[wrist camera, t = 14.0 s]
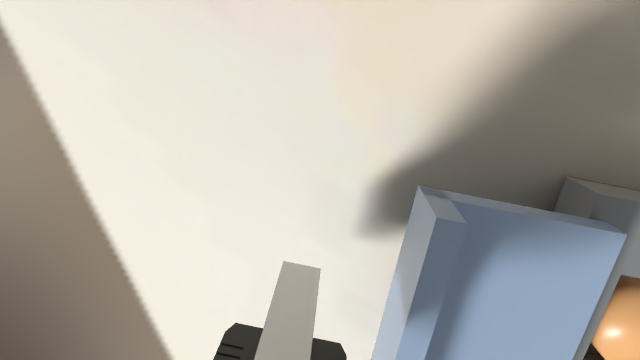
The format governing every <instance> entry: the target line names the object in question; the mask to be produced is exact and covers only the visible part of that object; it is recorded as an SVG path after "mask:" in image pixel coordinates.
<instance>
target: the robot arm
mask: <svg viewBox="0 0 640 360" xmlns="http://www.w3.org/2000/svg"><path fill="white" fill-rule="evenodd" d="M320 270H321V269H319V268H314V267H310V266H305V265H300V264H295V263H290V262H286V261H283V265H282V268H281V271H280V275H279V278H278V281H277V285H276V288H275V291H274V295H273V298H272V301H271V305H270V308H269V311H268V315H267V318H266V321H265V325H264V328H258V327H253V326H248V325H243V324H239V323H235V324H234V325H233V326H232V327H230V328H229V329H228V330H227V331H225V334H224V336H223V338H222V341H221V343H220V345H219V348H218V350H217V352H216V354H215V357H214V359H213V360H346V354H345V352H344V350H343V348H342V346H341V344H340V343H336V342H331V341H326V340H321V339H316V338H313V331H314V322H315V313H316V305H317V296H318V287H319V278H320Z"/></svg>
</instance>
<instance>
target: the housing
mask: <svg viewBox="0 0 640 360" xmlns="http://www.w3.org/2000/svg"><path fill="white" fill-rule="evenodd" d="M553 212H558V213H563V214H568V215H573V216H578V217H583V218H588V219H593V220H598V221H603V222H608V223H610V224H611V225H613V226H614V227H616V228H618V229H619V230H621V231H622V232H624V233H625V234H627V237H626V239H625V241H624V244H623V246H622V248H621V250H620V253H619V255H618V257H617V260H616V262H615V264H614V266H613V269H612V271H611V273H610V275H609V278H608V280H607V282H606V284H605V287H604V289H603V291H602V294H601V296H600V298H599V300H598V303H597V305H596V307H595V309H594V312H593V314H592V316H591V318H590V321H589V323H588V325H587V328H586V330H585V332H584V334H583V337H582V339H581V341H580V343H579V346H578V348H577V350H576V352H575V355H574V357H573V359H572V360H640V191H638V190H633V189H628V188H623V187H618V186H612V185H607V184H602V183H597V182H592V181H587V180H582V179H577V178H572V177H566V179H565V182H564V185H563V187H562V190H561V193H560V195H559V198H558V201H557V203H556V206H555V209H554V211H553ZM590 343H592V345H593V346H594V347H595V348H596V349H597V351H598V352H599V353H600V354H601V355H602V356H600V355H595V354H589V353H586V351H587V349H588V347H589V345H590Z"/></svg>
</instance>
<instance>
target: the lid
mask: <svg viewBox="0 0 640 360" xmlns="http://www.w3.org/2000/svg"><path fill="white" fill-rule="evenodd" d="M626 237H627V234H625V233H624V232H622V231H621V230H619V229H618V228H616V227H614V226H613V225H611V224H610V223H608V222H603V221H598V220H593V219H588V218H583V217H578V216H573V215H568V214H563V213H558V212H552V211H547V210H542V209H537V208H532V207H527V206H522V205H517V204H512V203H507V202H502V201H497V200H492V199H487V198H481V197H476V196H471V195H466V194H461V193H456V192H451V191H446V190H441V189H436V188H431V187H426V186H421V185H418V188H417V191H416V195H415V199H414V202H413V206H412V210H411V214H410V217H409V221H408V225H407V228H406V232H405V236H404V239H403V243H402V247H401V251H400V254H399V258H398V262H397V265H396V269H395V273H394V277H393V280H392V284H391V288H390V291H389V295H388V299H387V302H386V306H385V310H384V314H383V317H382V321H381V325H380V328H379V332H378V336H377V339H376V343H375V347H374V351H373V354H372V358H371V360H572V359H573V357H574V355H575V352H576V350H577V348H578V346H579V343H580V341H581V339H582V337H583V334H584V332H585V330H586V328H587V325H588V323H589V321H590V318H591V316H592V314H593V312H594V309H595V307H596V305H597V303H598V300H599V298H600V296H601V294H602V291H603V289H604V287H605V284H606V282H607V280H608V278H609V275H610V273H611V271H612V269H613V266H614V264H615V262H616V260H617V257H618V255H619V253H620V250H621V248H622V246H623V244H624V241H625V239H626Z"/></svg>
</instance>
